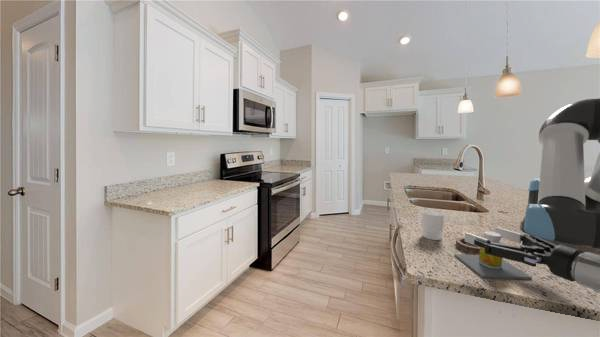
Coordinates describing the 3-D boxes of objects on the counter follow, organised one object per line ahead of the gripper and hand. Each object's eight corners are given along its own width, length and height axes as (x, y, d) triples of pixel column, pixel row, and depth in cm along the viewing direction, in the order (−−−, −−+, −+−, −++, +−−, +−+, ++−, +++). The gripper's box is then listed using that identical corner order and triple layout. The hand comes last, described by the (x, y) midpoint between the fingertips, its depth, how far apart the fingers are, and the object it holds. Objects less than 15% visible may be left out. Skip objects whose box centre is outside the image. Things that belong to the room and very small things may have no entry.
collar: (476, 243, 89) (476, 237, 88) (495, 254, 79) (495, 248, 79) (450, 242, 89) (450, 237, 89) (466, 253, 80) (466, 248, 80)
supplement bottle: (474, 260, 74) (476, 230, 73) (490, 259, 74) (492, 230, 73) (489, 269, 69) (492, 237, 68) (506, 268, 69) (509, 236, 68)
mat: (495, 257, 78) (495, 255, 77) (531, 279, 65) (531, 277, 65) (454, 256, 78) (454, 254, 78) (482, 277, 65) (482, 275, 65)
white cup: (446, 241, 90) (448, 216, 89) (424, 240, 92) (425, 215, 91) (438, 234, 98) (440, 210, 97) (418, 232, 99) (419, 209, 98)
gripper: (545, 294, 50) (451, 251, 70) (606, 272, 58) (506, 240, 78) (548, 260, 49) (452, 226, 69) (610, 243, 57) (508, 217, 77)
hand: (481, 233), depth 73 cm, fingers open, 13 cm apart
